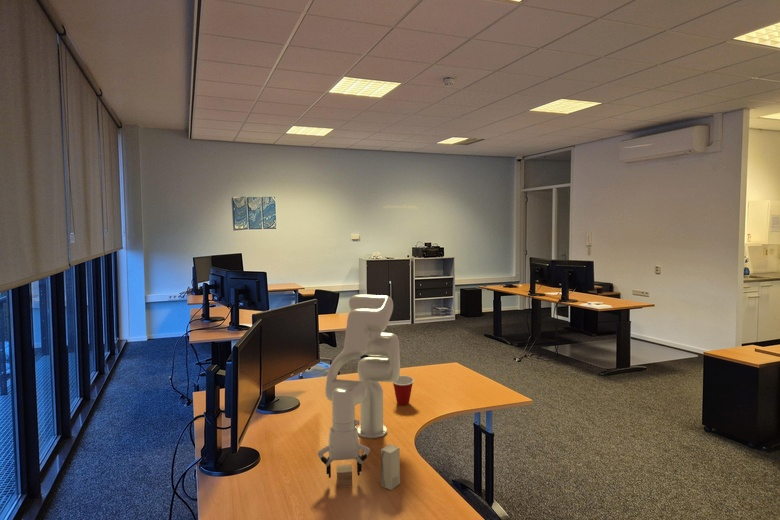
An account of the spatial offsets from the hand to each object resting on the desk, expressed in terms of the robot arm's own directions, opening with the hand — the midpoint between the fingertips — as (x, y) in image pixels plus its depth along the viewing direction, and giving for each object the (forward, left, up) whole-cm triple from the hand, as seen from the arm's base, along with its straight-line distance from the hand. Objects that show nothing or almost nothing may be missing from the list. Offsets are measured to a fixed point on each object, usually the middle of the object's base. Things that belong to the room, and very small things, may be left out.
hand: (344, 474), depth 158 cm
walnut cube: (0, 0, -3) cm, 3 cm away
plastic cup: (-66, +31, -3) cm, 73 cm away
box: (+4, +15, -3) cm, 16 cm away
